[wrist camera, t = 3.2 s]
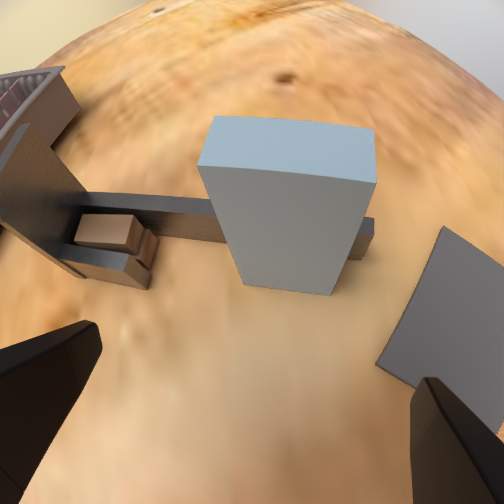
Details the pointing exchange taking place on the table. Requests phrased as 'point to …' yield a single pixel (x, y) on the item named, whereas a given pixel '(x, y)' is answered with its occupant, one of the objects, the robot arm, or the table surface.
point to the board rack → (82, 202)
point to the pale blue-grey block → (288, 196)
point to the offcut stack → (117, 236)
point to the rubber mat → (455, 328)
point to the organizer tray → (35, 103)
